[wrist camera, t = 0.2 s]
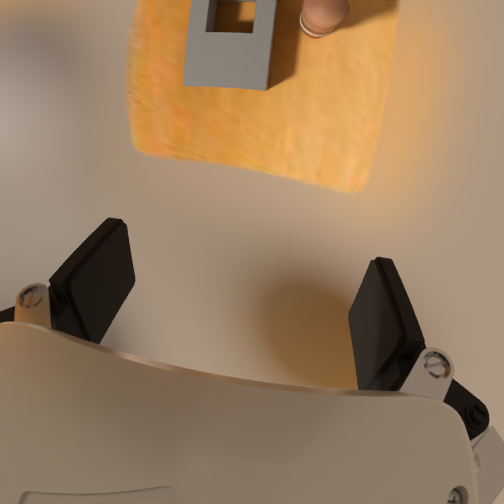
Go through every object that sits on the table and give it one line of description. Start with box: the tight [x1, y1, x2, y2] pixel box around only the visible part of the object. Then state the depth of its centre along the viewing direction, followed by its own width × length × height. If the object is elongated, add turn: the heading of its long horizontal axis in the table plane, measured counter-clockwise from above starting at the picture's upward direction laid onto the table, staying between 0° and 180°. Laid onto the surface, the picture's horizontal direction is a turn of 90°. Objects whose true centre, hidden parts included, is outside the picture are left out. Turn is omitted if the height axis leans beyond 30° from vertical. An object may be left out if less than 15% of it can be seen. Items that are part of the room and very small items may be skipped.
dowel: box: [300, 0, 349, 38], centre depth 22 cm, size 4×4×12 cm
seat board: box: [183, 0, 278, 91], centre depth 26 cm, size 20×10×4 cm, turn 175°
